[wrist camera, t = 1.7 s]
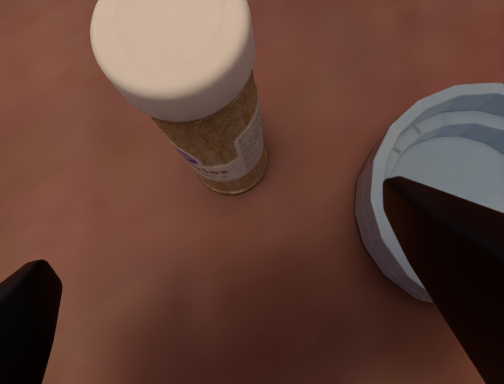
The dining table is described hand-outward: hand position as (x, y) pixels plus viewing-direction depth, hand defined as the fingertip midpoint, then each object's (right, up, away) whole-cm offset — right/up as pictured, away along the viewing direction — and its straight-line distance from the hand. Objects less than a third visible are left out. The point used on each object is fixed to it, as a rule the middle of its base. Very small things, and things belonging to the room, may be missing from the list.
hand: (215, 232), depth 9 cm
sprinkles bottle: (0, +3, +14) cm, 14 cm away
